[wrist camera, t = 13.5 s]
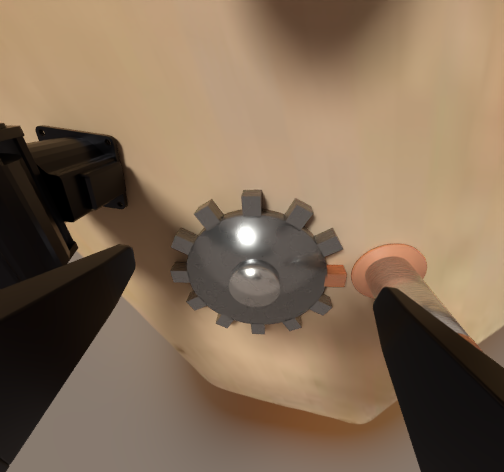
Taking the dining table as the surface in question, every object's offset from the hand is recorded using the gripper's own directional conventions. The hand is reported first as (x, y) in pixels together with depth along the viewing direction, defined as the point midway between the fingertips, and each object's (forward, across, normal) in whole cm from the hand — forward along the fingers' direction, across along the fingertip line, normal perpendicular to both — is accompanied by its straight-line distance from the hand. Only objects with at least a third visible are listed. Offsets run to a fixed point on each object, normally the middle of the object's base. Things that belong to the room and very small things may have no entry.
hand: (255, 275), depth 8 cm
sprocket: (+13, 0, +10) cm, 17 cm away
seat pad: (+13, -14, +8) cm, 21 cm away
